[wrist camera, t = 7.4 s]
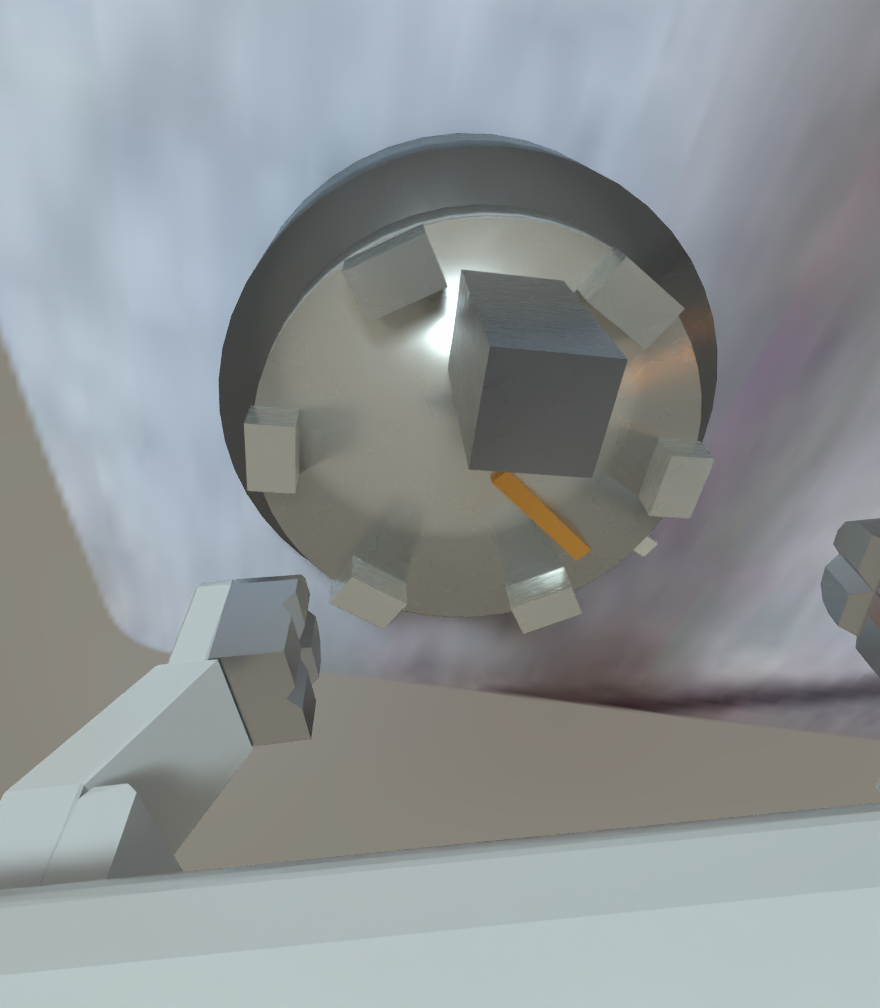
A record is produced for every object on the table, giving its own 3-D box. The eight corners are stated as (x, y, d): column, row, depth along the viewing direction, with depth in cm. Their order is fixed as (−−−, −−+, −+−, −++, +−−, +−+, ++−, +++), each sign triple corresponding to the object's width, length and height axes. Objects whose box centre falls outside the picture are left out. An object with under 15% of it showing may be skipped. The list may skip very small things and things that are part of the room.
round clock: (743, 234, 20) (917, 317, 14) (613, 591, 29) (682, 749, 22) (253, 173, 18) (180, 236, 12) (267, 575, 27) (228, 744, 20)
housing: (765, 323, 27) (844, 377, 22) (496, 599, 34) (513, 681, 30) (401, 0, 20) (406, -19, 15) (166, 434, 27) (123, 508, 23)
